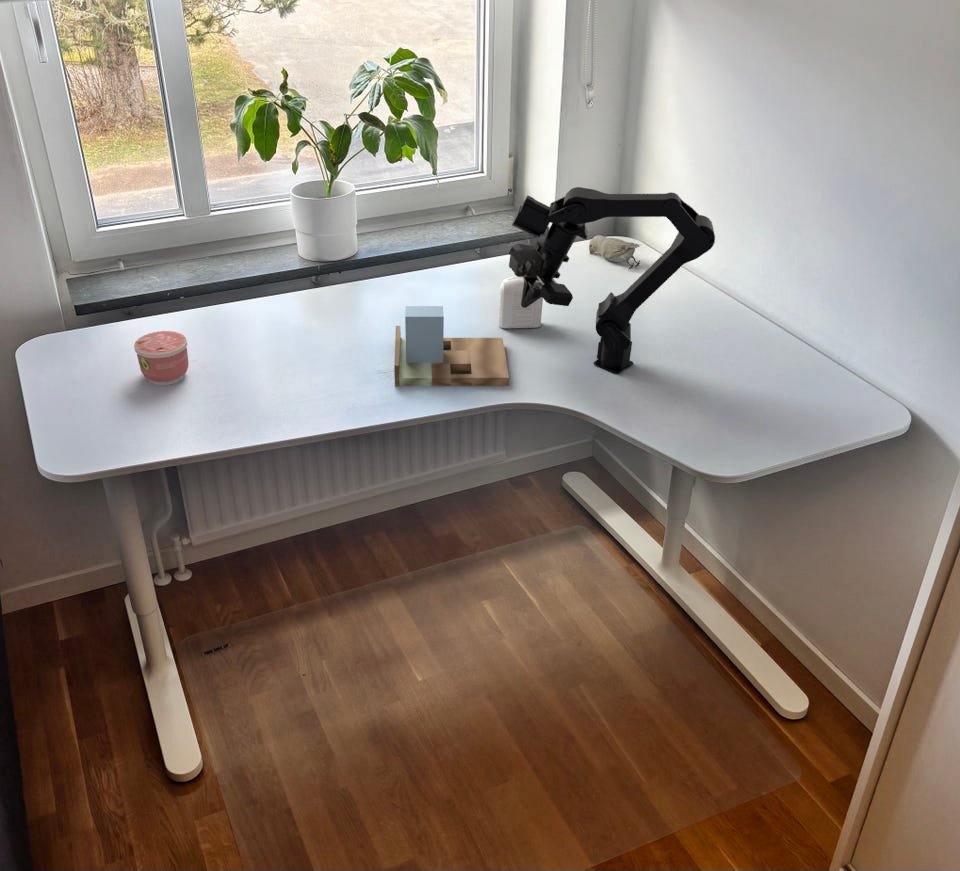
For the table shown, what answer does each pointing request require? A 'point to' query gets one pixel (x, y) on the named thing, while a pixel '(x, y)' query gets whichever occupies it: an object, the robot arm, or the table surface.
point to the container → (162, 356)
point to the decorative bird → (613, 249)
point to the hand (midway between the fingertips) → (523, 306)
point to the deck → (455, 364)
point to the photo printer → (517, 306)
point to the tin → (424, 334)
